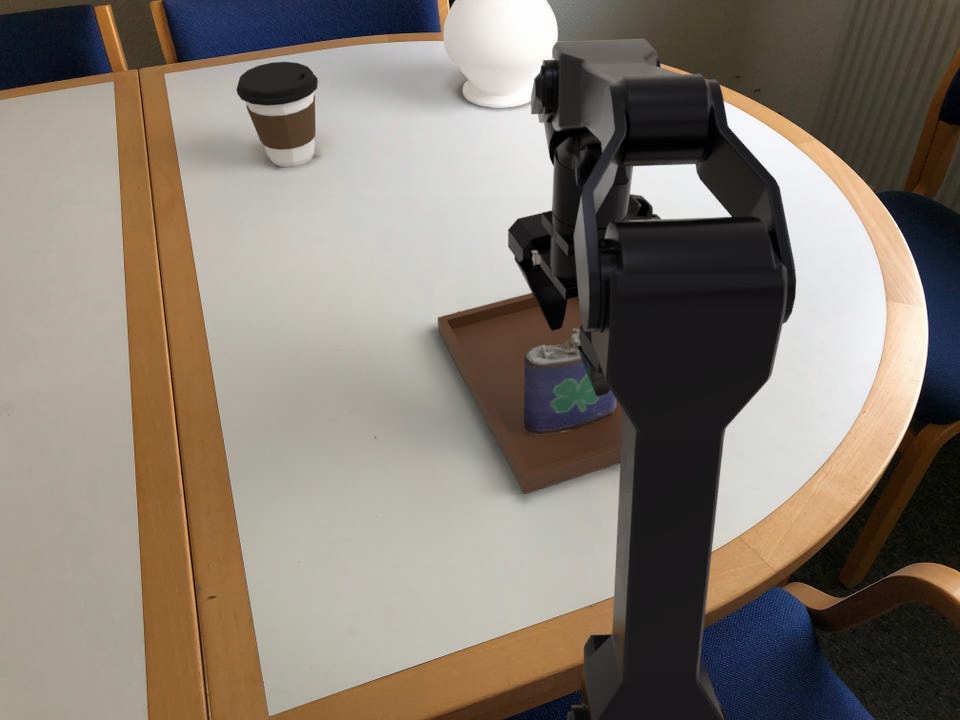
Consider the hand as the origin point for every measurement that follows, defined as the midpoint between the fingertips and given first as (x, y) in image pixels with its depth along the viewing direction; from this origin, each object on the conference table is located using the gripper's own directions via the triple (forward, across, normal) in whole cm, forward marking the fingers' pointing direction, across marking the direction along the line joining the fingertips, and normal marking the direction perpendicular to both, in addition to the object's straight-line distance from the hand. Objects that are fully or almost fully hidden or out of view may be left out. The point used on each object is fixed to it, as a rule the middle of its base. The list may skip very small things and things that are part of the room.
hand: (577, 359), depth 71 cm
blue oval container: (+8, 0, 0) cm, 8 cm away
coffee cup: (+8, +62, +15) cm, 65 cm away
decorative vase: (+8, +70, -21) cm, 74 cm away
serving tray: (+8, +5, -1) cm, 10 cm away
